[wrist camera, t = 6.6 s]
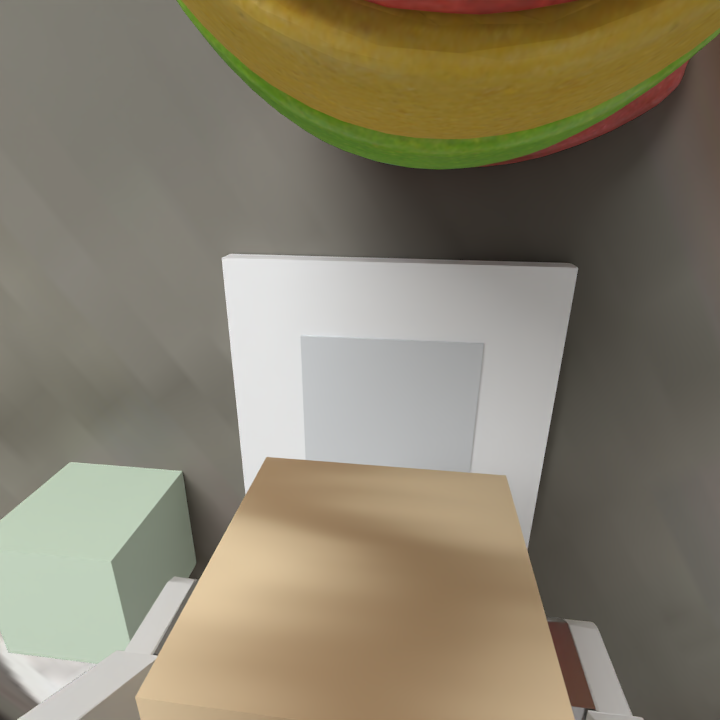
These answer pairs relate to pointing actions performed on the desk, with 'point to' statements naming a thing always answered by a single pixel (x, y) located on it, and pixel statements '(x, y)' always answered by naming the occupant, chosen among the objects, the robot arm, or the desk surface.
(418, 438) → the plate
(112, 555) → the sage block
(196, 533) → the desk surface
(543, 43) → the stacking bear
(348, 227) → the desk surface
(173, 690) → the oak block
